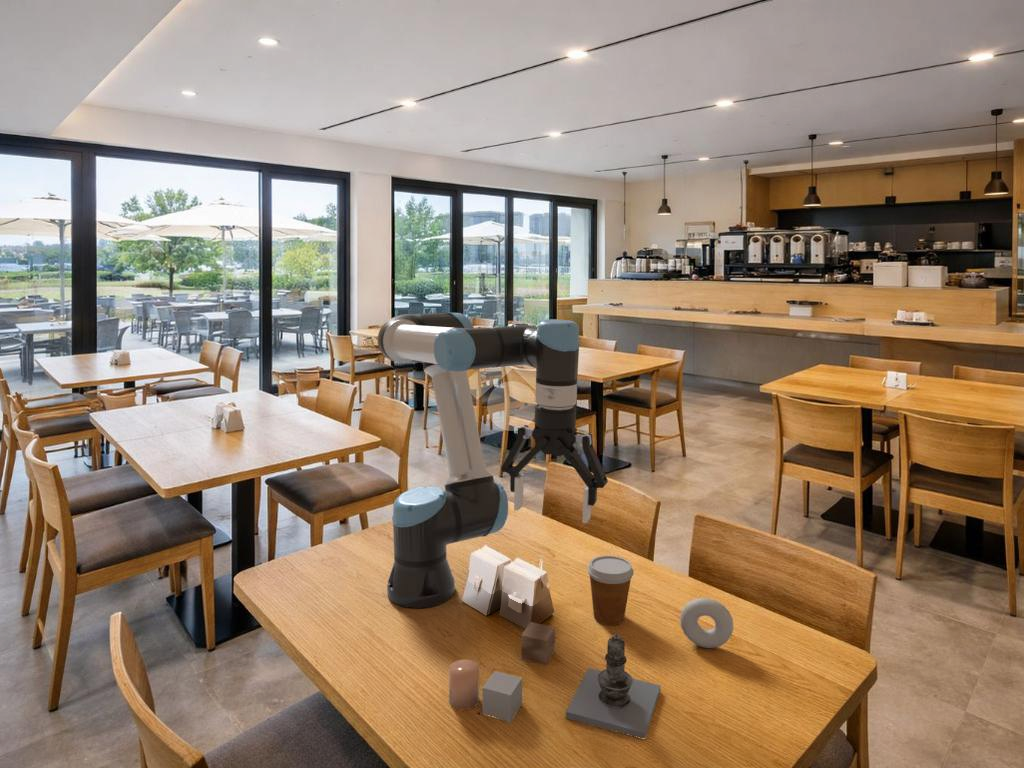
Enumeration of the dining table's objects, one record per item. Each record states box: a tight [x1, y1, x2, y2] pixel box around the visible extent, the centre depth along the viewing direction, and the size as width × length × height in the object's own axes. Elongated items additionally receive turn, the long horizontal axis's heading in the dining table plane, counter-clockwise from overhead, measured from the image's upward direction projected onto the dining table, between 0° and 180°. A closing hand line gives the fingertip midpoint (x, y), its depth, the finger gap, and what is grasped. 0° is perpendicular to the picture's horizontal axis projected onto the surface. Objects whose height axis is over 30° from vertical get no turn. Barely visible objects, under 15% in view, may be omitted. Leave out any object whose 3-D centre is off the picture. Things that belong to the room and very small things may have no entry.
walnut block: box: [520, 621, 556, 666], centre depth 126 cm, size 5×5×5 cm
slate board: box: [565, 667, 661, 739], centre depth 112 cm, size 13×13×1 cm
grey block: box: [482, 670, 523, 723], centre depth 111 cm, size 5×5×5 cm
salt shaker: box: [597, 632, 633, 708], centre depth 111 cm, size 6×6×12 cm
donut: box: [679, 597, 735, 649], centre depth 129 cm, size 10×4×10 cm, turn 70°
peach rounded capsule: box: [448, 659, 480, 710], centre depth 113 cm, size 5×5×6 cm
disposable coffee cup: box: [586, 555, 634, 626], centre depth 139 cm, size 10×10×12 cm
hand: (551, 514), depth 125 cm, fingers open, 13 cm apart
